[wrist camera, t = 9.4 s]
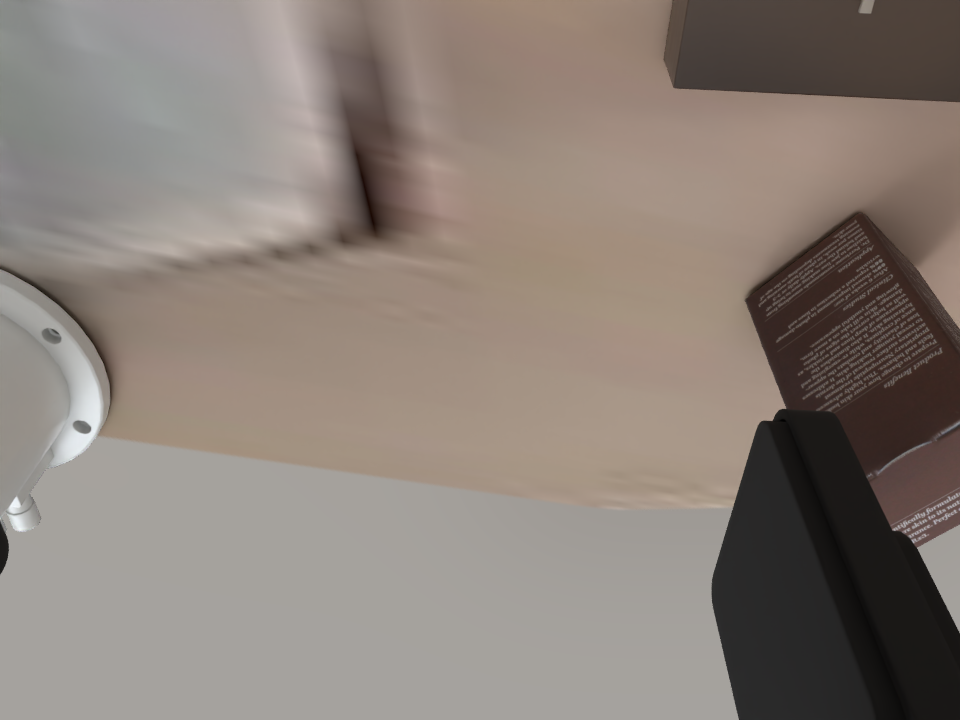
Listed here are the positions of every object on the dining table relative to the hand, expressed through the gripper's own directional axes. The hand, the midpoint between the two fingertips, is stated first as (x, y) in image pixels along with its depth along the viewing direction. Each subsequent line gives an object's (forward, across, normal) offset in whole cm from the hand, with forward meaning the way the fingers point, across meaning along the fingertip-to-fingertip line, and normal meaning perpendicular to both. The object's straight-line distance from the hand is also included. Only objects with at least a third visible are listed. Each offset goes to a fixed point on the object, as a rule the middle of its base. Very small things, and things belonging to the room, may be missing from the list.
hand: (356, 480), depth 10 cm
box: (+24, -16, +11) cm, 31 cm away
